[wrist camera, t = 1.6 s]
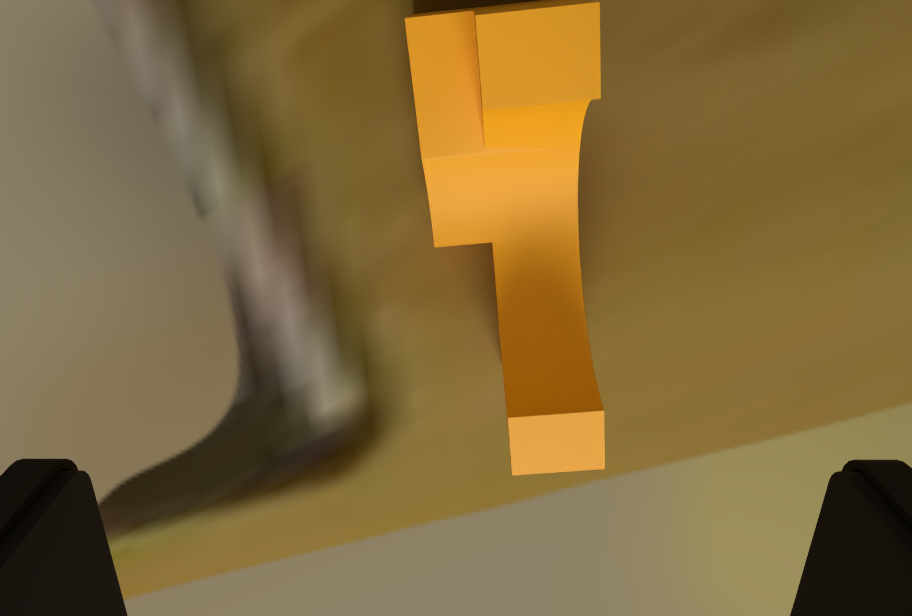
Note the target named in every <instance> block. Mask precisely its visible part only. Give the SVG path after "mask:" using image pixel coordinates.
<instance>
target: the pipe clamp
mask: <svg viewBox="0 0 912 616" xmlns="http://www.w3.org/2000/svg"><path fill="white" fill-rule="evenodd" d="M405 25H406V33H407V41H408V50H409V58H410V66H411V74H412V83H413V91H414V99H415V108H416V116H417V124H418V132H419V141H420V149H421V157H422V162H423V168H424V173H425V179H426V185H427V192H428V199H429V206H430V213H431V221H432V229H433V237H434V246H435V247H445V246H456V245H467V244H478V243H490V242H492V248H493V260H494V272H495V284H496V297H497V309H498V321H499V333H500V345H501V358H502V369H503V380H504V391H505V401H506V412H507V423H508V433H509V444H510V455H511V465H512V475H525V474H540V473H554V472H568V471H582V470H596V469H605V447H604V409H603V405H602V402H601V398H600V395H599V391H598V386H597V382H596V378H595V373H594V368H593V362H592V357H591V351H590V345H589V339H588V332H587V325H586V317H585V309H584V300H583V290H582V279H581V266H580V251H579V231H578V168H579V152H580V141H581V133H582V126H583V121H584V117H585V113H586V110H587V107H588V104H589V103H590V101H591V100H592V99H601V74H600V2H595V1H586V0H538V1H529V2H520V3H511V4H501V5H492V6H483V7H474V8H464V9H455V10H446V11H437V12H427V13H418V14H412V15H410V16H408V17H406V18H405Z"/></svg>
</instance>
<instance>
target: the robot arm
mask: <svg viewBox="0 0 912 616" xmlns="http://www.w3.org/2000/svg"><path fill="white" fill-rule="evenodd" d="M0 616H127V613H126V608H125V605H124V601H123V597H122V594H121V590H120V586H119V582H118V579H117V575H116V571H115V568H114V564H113V560H112V556H111V553H110V549H109V545H108V542H107V538H106V534H105V530H104V527H103V523H102V519H101V516H100V512H99V508H98V504H97V501H96V497H95V493H94V490H93V486H92V482H91V479H90V477H89V475H88V474H87V473H86V472H85V471H78V469H77V466H76V465H75V464H74V462H72V460H68V459H21V460H17V461H15V462H14V463H13V464H12V465H10V466H9V467H8V469H7V470H6V471H5V472H4V473H3V474H2V475H1V476H0ZM790 616H912V468H911V467H909V466H908V465H907V464H906V463H904V462H902V461H899V460H852V461H848V463H846V464H845V465H844V467H843V469H842V471H839V472H835V473H834V474H833V475H832V476H831V478H830V480H829V483H828V487H827V490H826V494H825V497H824V501H823V504H822V508H821V511H820V515H819V518H818V522H817V525H816V528H815V532H814V535H813V539H812V542H811V546H810V549H809V553H808V556H807V560H806V563H805V566H804V570H803V573H802V577H801V580H800V584H799V587H798V591H797V594H796V598H795V601H794V604H793V608H792V611H791V615H790Z"/></svg>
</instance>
